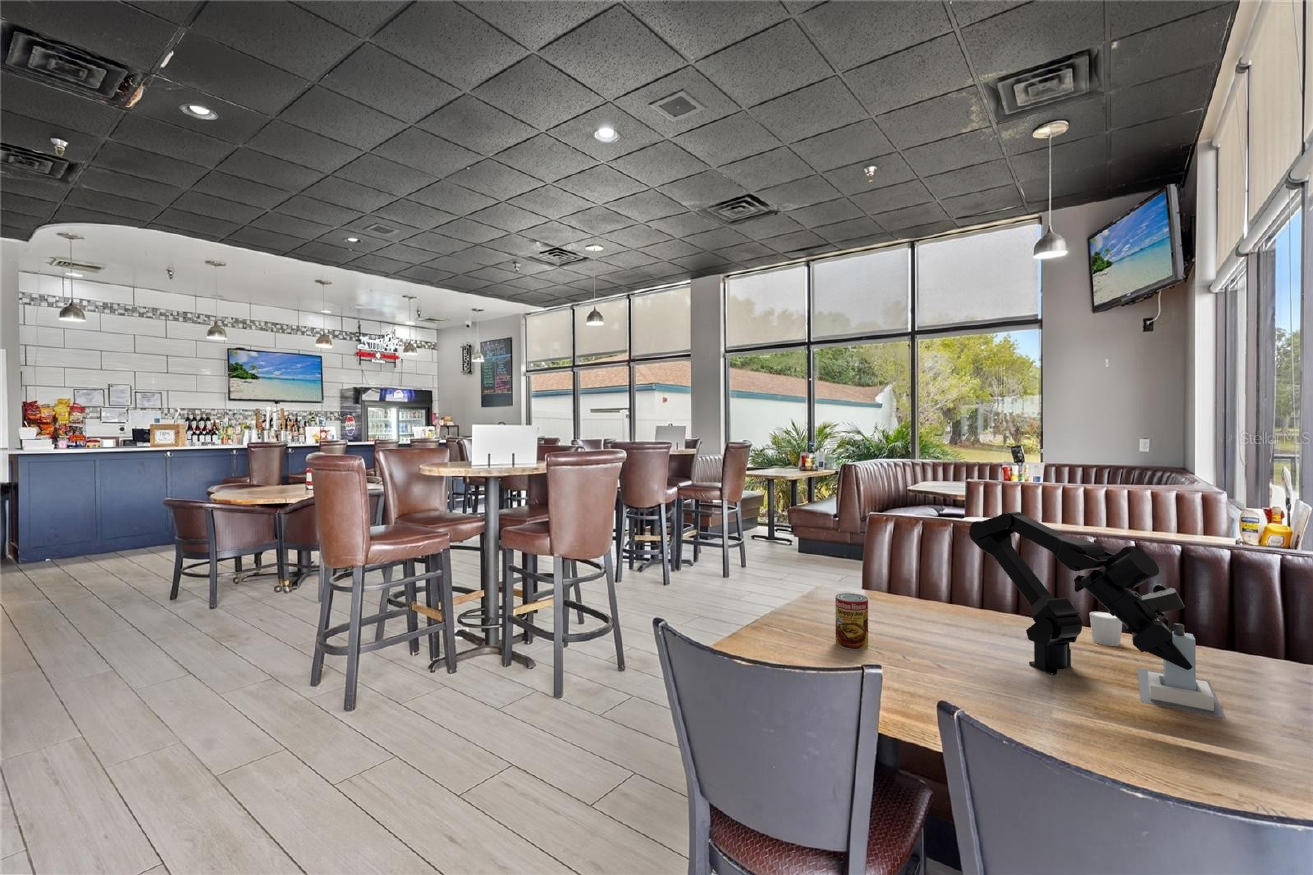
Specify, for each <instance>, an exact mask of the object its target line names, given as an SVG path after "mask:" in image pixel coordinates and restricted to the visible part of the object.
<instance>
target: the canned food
mask: <svg viewBox="0 0 1313 875" xmlns="http://www.w3.org/2000/svg"><path fill="white" fill-rule="evenodd" d="M834 605H835V645H836V646H837V647H840V648H842V649H846V650H851V651H861V650H862V651H863V650H866V649H868V647H869V598H868V596H866V595H863V594H859V593H851V592H848V593H847V592H846V593H845V592H843V593H837V594H836V595H835V604H834Z"/></svg>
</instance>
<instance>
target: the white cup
mask: <svg viewBox="0 0 1313 875" xmlns="http://www.w3.org/2000/svg"><path fill="white" fill-rule="evenodd" d="M1089 618H1090V619H1089V622H1090V629H1091V636H1092V637H1091V638H1092V641H1093V643H1096V644H1098V643H1099V645H1103V646H1108V647H1109V646H1110V647H1118V646H1119V647H1120V645H1121V638H1122V631H1123V630H1122V629H1123V623H1122V622H1121V621H1120V620H1119V619H1118V618H1117V617H1116V616H1115V615H1114V616H1112V615H1111V614H1110V613H1109V612H1105V611H1090V612H1089Z"/></svg>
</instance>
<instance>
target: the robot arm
mask: <svg viewBox="0 0 1313 875" xmlns="http://www.w3.org/2000/svg"><path fill="white" fill-rule="evenodd" d="M1015 533H1016V534H1018V535H1019V536H1022V537H1023V538H1024V539H1027V540H1028V541H1031V542H1033V543H1034V544H1036V545H1038V546H1041V548H1043V549H1045V550H1047V551H1049V552H1051V553H1052V554H1053V555H1054V557H1055V559H1056V560H1057V561H1058V562H1059V563H1061V564H1062V565H1063V566H1064V567H1066V568H1067V569H1069V570H1071V571H1073V572H1083V571H1084V572H1085V571H1091V570H1092V571H1091V572H1089V573H1088V574H1086V575H1080V574H1078V575H1077V576H1076V577H1075V578H1074V579H1073V581H1074V592H1075V593H1079V592H1081V591H1082V590H1084V589H1085V590H1087V591H1088V592H1089V593H1090V594H1091V595H1092V596H1093V597H1094V598H1095V599H1096V600H1097V601H1098V602H1099V603H1100V604H1101V605H1102V606H1104V607H1105V608H1106V609H1107V610H1108V613H1110V614H1111V615H1112V616H1114V615H1115V616H1116V617H1117V618H1118V619H1119V620H1120V621H1121V622H1122V625H1124V626H1125V627H1126V630H1127V631H1128V632H1129V633H1131V638H1132V645H1133V646H1134V647H1135V648H1137V650H1138V651H1139V652H1141V653H1143V652H1144V653H1149V654H1151V655H1153V656H1155V657H1158V658H1161V659H1162V660H1163V659H1164V660H1167V661H1169V662H1171V663H1173V664H1175V665H1177V666H1179V667H1182V668H1184V669H1186V670H1190V669H1191V668H1192V665H1191V664H1190V663H1189V661H1188V660H1187V659H1186V658H1185V656H1184V655H1183V654H1182V653H1181V652H1180V650H1179V649H1178V648H1177V647H1176V645H1175V644H1174V643H1173V633H1172V629H1170V628H1169V618H1168V617H1167V616H1166V612H1168V611H1173V610H1176V611H1178V610H1179V611H1180V610H1182V609H1184V608H1186V606H1185V604H1184V602H1183V600H1182V599H1181V597H1180V595H1179V593H1178V591H1177V590H1176V588H1173V587H1169V588H1168V587H1166V586H1165V585H1163V584H1162V583H1158V584H1154V585H1152V592H1148V593H1147V594H1144V595H1141V594H1139V592H1137V591H1134V590H1132V589H1134V588H1136V587H1138V586H1140V585H1142V584H1145V582H1147V581H1150V580H1151V579H1152V578H1155V577H1156V576H1158V575H1159V573H1160V569H1159V566H1158V564H1157V563H1156V561H1155V560H1154V558H1151V557H1150V556H1149V555H1147V554H1146V553H1144V552H1143V551H1140V550H1138V548H1136V546H1135V545H1126V546H1125V547H1123V548H1121V549H1120V551H1118V552H1117V553H1115V554H1114V553H1111V552H1109V551H1108V550H1107V551H1106V550H1105V548H1104V547H1103V546H1102V545H1100V544H1099V543H1098V542H1093V541H1091V540H1090V541H1089V540H1086V539H1083V538H1078V537H1073V536H1067V535H1066V534H1064V533H1062V532H1059V531H1058V530H1055V529H1053V528H1052V527H1050V526H1047V525H1045V524H1043V523H1041V522H1039V521H1037V520H1035V519H1034V518H1033V519H1032V518H1031V517H1029V516H1027V515H1025V514H1024V513H1023V512H1021V511H1006V512H1003V513H1001V514H999V515H997V516H994V517H991V518H987V519H984V520H976V521H974V522H972V523H971V525H970V526H969V533H968V536H969V538H970V540H971V541H972V542H973V543H974V544H975V545H976V546H977V547H978V548H979V549H980V550H983V551H984V552H986V553H987V554H989V555H990V556H992V557H993V558H994V559H995V560H996V561H997V563H998V565H999V566H1000V567H1001V568H1002V569H1003V571H1004V572H1005V574H1006V575H1007V577H1008V578H1009V579H1010V580H1011V581H1012V583H1013V584H1014V586H1015V587H1016V588H1017V590H1018V591H1019V592H1020V593H1021V594H1022V596H1023V597H1024V598H1025V600H1026V601H1027V602H1028V604H1029V605H1030V608H1031V609H1030V610H1031V617H1032V620H1033V621H1034V624H1033V623H1032V625H1030V627H1028V628H1027V629H1025V632H1026V636H1027V639H1028V641H1030V642H1033V650H1034V651H1033V661H1029V662H1028V664H1029V665H1030V666H1033V667H1035V668H1037V669H1039V670H1041V671H1043V672H1045V673H1047V674H1049V675H1057V673H1058V670H1065V669H1067V668H1070V667H1071V666H1072V657H1071V656H1072V649H1071V647H1070V644H1071V643H1076V642H1077V639H1078V636H1079V635H1080V634H1081V632H1082V630H1083V621H1082V619H1081V617H1080V616H1079V615H1080V612H1079V611H1077V609H1075V607H1074V605H1072V603H1071V602H1070V600H1069V599H1067V597H1063V598H1056V597H1054V596H1053V595H1052V594H1051V592H1049V590H1048V589H1047V588H1046V587H1045V585H1044V583H1042V582H1041V581H1040V579H1039V578H1038V577H1037V575H1036V574H1035V573H1034V572H1033V570H1032V569H1031V567H1030V566H1028V564H1027V563H1026V562H1025V560H1024V559H1023V557H1022V556H1021V555H1020V554H1019V553H1018V552H1017V551H1016V549H1015V548H1014V546H1013V540H1012V539H1013V537H1012V535H1013V534H1015ZM1102 568H1104V569H1103V570H1102V571H1101V570H1099V569H1102ZM1160 616H1161V617H1162V618H1161V619H1158V618H1159V617H1160ZM1164 616H1165V617H1164Z"/></svg>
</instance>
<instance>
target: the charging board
mask: <svg viewBox="0 0 1313 875" xmlns="http://www.w3.org/2000/svg"><path fill="white" fill-rule="evenodd" d="M1135 669H1136V675H1137V681H1138V682H1137V683H1138V689H1139V696H1140V702H1141V703H1143V704H1148V705H1155V706H1159V707H1164V708H1169V709H1174V710H1178V711H1182V712H1183V711H1184V712H1188V713H1194V714H1199V715H1204V716H1208V717H1214V718H1219V719H1224V720H1227V717H1226V715H1225V713H1224V711H1223V708H1222V707H1221V704H1220V701H1219V699H1218V697H1217V694H1216V693H1215V690H1214V688H1213V685H1212V683H1211V682H1210V679H1205V678H1200V677H1196V680H1200V681H1206V682H1207V683H1208V685H1209V688H1210V690H1211V692H1212V694H1213V697H1214V714H1213V713H1208V712H1203V711H1198V710H1193V709H1188V708H1183V707H1178V706H1173V705H1168V704H1163V703H1158V702H1153V701H1151V699H1150V694H1149V688H1148V671H1149V672H1155V673H1160V674H1163V671H1158V670H1153V669H1146V668H1142V667H1136V668H1135Z"/></svg>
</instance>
